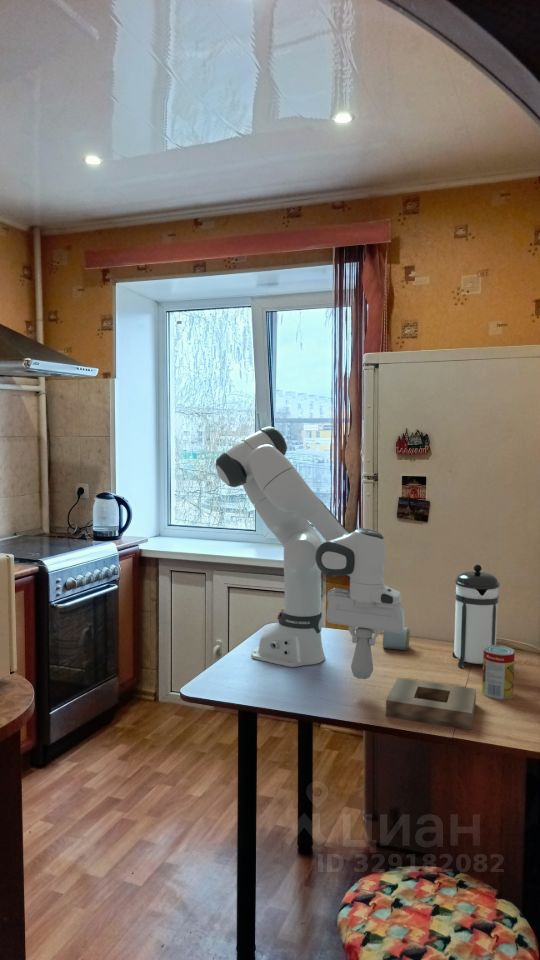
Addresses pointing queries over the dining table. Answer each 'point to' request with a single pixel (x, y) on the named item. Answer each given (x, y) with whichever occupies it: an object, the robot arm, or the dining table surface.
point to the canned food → (498, 672)
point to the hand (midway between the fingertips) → (363, 643)
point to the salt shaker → (362, 655)
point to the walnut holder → (432, 703)
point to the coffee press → (475, 615)
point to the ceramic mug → (396, 639)
